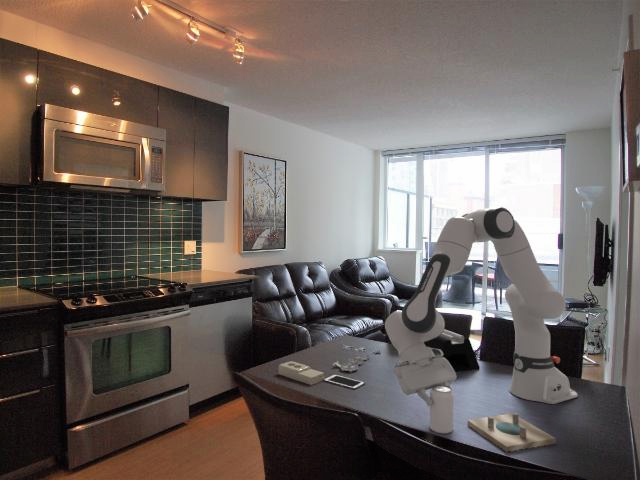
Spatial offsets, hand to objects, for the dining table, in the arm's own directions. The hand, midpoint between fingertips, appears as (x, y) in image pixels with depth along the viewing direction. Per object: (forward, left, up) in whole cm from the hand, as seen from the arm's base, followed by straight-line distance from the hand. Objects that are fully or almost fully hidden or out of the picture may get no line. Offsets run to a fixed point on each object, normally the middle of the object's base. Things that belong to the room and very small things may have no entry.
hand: (441, 401), depth 121 cm
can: (0, 0, -8) cm, 8 cm away
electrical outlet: (+28, -53, -8) cm, 61 cm away
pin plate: (-17, +8, -8) cm, 20 cm away
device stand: (-34, -52, -8) cm, 63 cm away
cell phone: (+14, -43, -9) cm, 46 cm away
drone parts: (+2, -71, -9) cm, 72 cm away
